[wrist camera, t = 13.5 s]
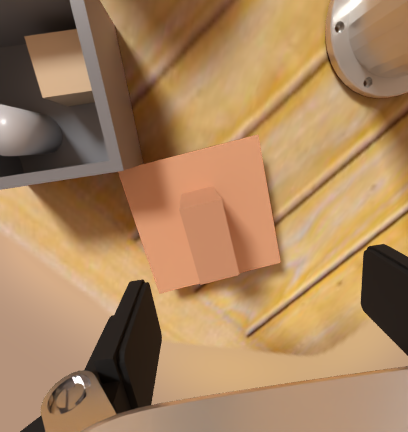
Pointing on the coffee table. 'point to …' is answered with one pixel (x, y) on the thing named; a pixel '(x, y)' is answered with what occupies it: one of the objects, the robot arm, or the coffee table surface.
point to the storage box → (62, 94)
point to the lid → (203, 214)
